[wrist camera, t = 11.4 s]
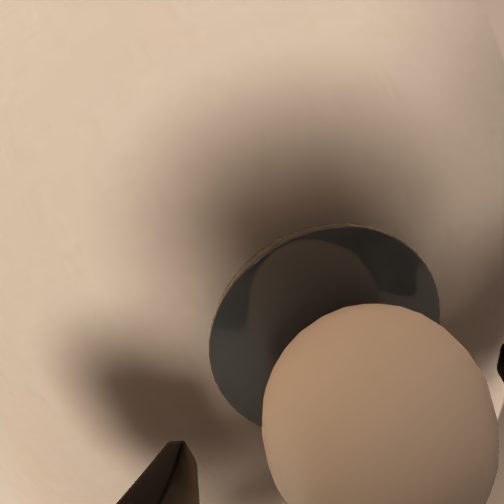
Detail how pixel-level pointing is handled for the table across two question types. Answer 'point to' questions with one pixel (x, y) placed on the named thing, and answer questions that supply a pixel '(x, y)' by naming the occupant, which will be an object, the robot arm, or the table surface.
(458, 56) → the table surface
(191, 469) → the robot arm
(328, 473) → the egg
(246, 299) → the coaster
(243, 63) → the table surface
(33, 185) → the table surface
